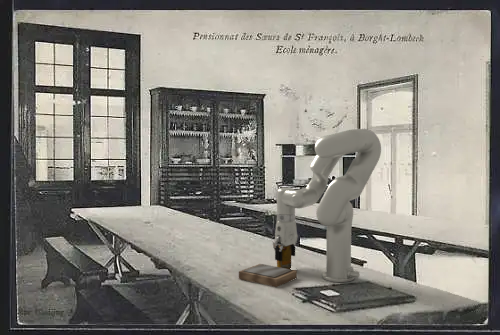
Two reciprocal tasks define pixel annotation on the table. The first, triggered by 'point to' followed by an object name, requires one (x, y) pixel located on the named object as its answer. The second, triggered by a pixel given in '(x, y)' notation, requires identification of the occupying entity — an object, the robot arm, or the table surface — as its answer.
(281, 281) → the tray
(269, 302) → the table surface
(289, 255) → the condiment
